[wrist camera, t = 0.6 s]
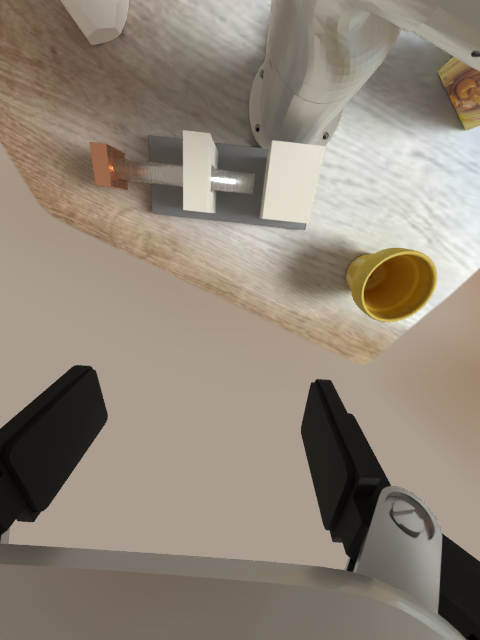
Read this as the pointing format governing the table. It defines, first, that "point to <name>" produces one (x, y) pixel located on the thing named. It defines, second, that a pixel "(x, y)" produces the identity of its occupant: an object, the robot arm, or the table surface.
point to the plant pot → (392, 283)
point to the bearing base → (267, 164)
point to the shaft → (156, 172)
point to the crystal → (98, 18)
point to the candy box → (463, 90)
